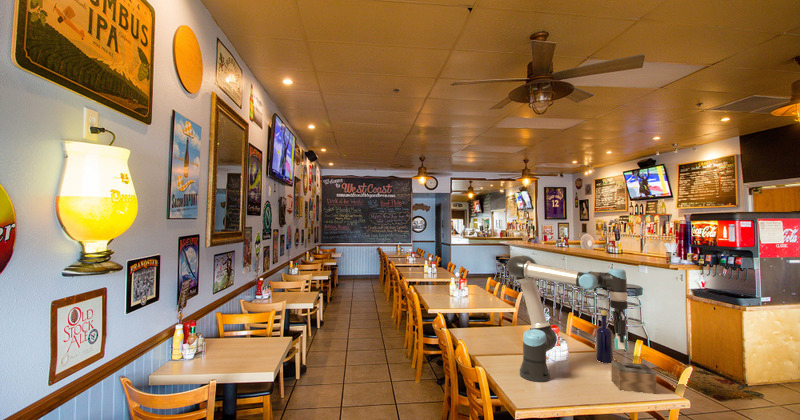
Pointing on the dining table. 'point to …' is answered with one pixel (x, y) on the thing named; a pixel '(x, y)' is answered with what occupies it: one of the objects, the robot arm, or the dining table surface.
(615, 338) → the teal flat square block
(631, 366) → the coin box
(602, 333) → the bottle
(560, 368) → the dining table surface
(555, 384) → the dining table surface
